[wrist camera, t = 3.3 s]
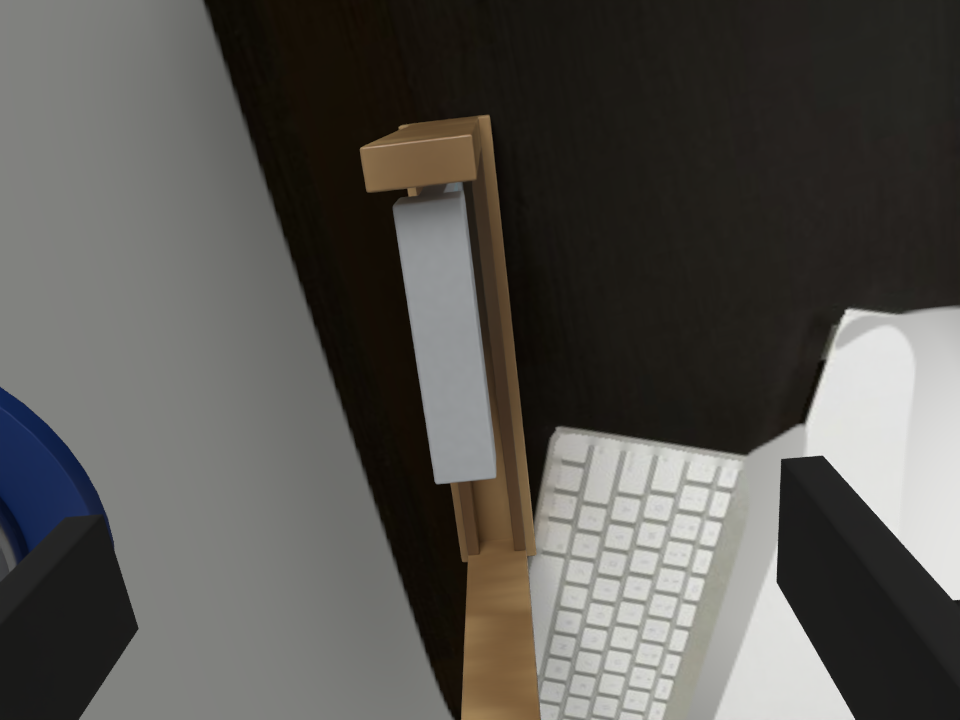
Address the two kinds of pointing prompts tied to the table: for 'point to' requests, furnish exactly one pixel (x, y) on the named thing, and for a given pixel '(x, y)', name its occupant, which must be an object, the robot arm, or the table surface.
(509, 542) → the brown wooden l-shape
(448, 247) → the grey rectangular block
